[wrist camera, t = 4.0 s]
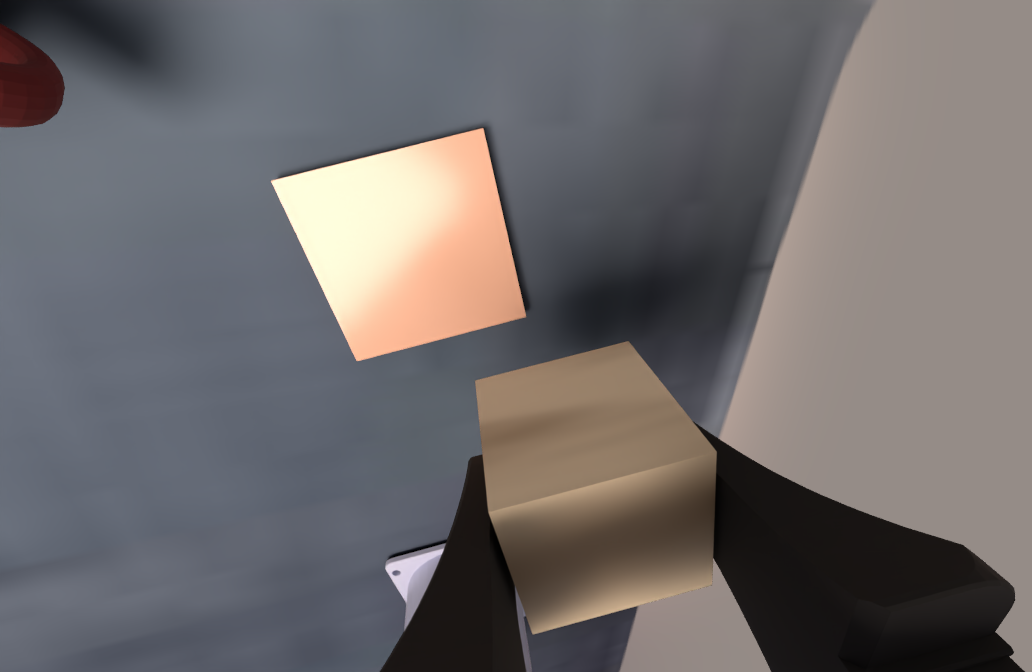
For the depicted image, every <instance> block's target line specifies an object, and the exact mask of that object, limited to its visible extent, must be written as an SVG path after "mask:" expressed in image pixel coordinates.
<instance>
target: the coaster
mask: <svg viewBox="0 0 1032 672" xmlns="http://www.w3.org/2000/svg"><path fill="white" fill-rule="evenodd" d="M271 182H272V184H273V186H274V188H275V190H276V192H277V194H278V197H279V199H280V201H281V203H282V205H283V207H284V209H285V211H286V213H287V215H288V218H289V220H290V222H291V224H292V226H293V228H294V230H295V232H296V234H297V236H298V239H299V241H300V243H301V245H302V247H303V249H304V251H305V253H306V255H307V257H308V260H309V262H310V264H311V266H312V268H313V270H314V272H315V274H316V276H317V278H318V280H319V283H320V285H321V287H322V289H323V291H324V293H325V295H326V297H327V299H328V301H329V304H330V306H331V308H332V310H333V312H334V314H335V316H336V318H337V320H338V322H339V325H340V327H341V329H342V331H343V333H344V335H345V337H346V339H347V341H348V343H349V346H350V348H351V350H352V352H353V354H354V356H355V358H356V360H357V361H360V360H364V359H367V358H371V357H375V356H379V355H383V354H387V353H390V352H394V351H398V350H402V349H406V348H409V347H413V346H417V345H421V344H425V343H429V342H432V341H436V340H440V339H444V338H448V337H451V336H455V335H459V334H463V333H467V332H470V331H474V330H478V329H482V328H486V327H490V326H493V325H497V324H501V323H505V322H509V321H512V320H516V319H520V318H524V317H526V314H525V309H524V305H523V300H522V296H521V292H520V287H519V283H518V279H517V274H516V270H515V265H514V261H513V257H512V252H511V248H510V243H509V239H508V235H507V230H506V226H505V221H504V217H503V213H502V208H501V204H500V200H499V195H498V191H497V186H496V182H495V178H494V173H493V169H492V164H491V160H490V156H489V151H488V147H487V143H486V138H485V134H484V129H483V128H479V129H475V130H471V131H467V132H463V133H459V134H455V135H451V136H447V137H443V138H439V139H435V140H431V141H427V142H423V143H419V144H415V145H411V146H407V147H403V148H399V149H395V150H391V151H387V152H383V153H379V154H375V155H371V156H367V157H363V158H359V159H355V160H351V161H347V162H342V163H338V164H334V165H330V166H326V167H322V168H318V169H314V170H310V171H306V172H302V173H298V174H294V175H290V176H286V177H282V178H278V179H275V180H272V181H271Z"/></svg>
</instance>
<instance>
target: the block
mask: <svg viewBox="0 0 1032 672" xmlns="http://www.w3.org/2000/svg"><path fill="white" fill-rule="evenodd" d="M475 384H476V393H477V403H478V413H479V423H480V433H481V443H482V453H483V463H484V473H485V483H486V493H487V503H488V513H489V515H490V518H491V521H492V524H493V526H494V529H495V532H496V535H497V537H498V540H499V543H500V546H501V548H502V551H503V554H504V557H505V559H506V562H507V565H508V568H509V570H510V573H511V576H512V579H513V581H514V584H515V587H516V590H517V592H518V595H519V598H520V601H521V603H522V606H523V609H524V612H525V614H526V617H527V620H528V623H529V625H530V628H531V631H532V634H537V633H540V632H544V631H548V630H551V629H555V628H559V627H562V626H566V625H569V624H573V623H577V622H580V621H584V620H588V619H591V618H595V617H599V616H602V615H606V614H610V613H613V612H617V611H620V610H624V609H628V608H631V607H635V606H639V605H642V604H646V603H649V602H653V601H657V600H660V599H664V598H668V597H671V596H675V595H679V594H682V593H686V592H689V591H693V590H697V589H701V588H704V587H708V586H712V575H713V574H712V573H713V547H714V517H715V488H716V459H717V451H716V450H715V449H714V448H713V446H712V445H711V444H710V443H709V441H708V440H707V439H706V438H705V436H704V435H703V434H702V433H701V431H700V430H699V429H698V428H697V426H696V425H695V424H694V423H693V421H692V420H691V419H690V418H689V416H688V415H687V414H686V413H685V411H684V410H683V409H682V408H681V406H680V405H679V404H678V403H677V401H676V400H675V399H674V398H673V396H672V395H671V394H670V393H669V391H668V390H667V389H666V388H665V386H664V385H663V384H662V383H661V381H660V380H659V379H658V378H657V376H656V375H655V374H654V373H653V371H652V370H651V369H650V368H649V366H648V365H647V364H646V363H645V361H644V360H643V359H642V358H641V356H640V355H639V354H638V353H637V351H636V350H635V349H634V347H633V346H632V345H631V344H630V342H629V341H627V342H623V343H619V344H615V345H611V346H607V347H603V348H600V349H596V350H592V351H588V352H584V353H580V354H576V355H572V356H568V357H565V358H561V359H557V360H553V361H549V362H545V363H541V364H537V365H534V366H530V367H526V368H522V369H518V370H514V371H510V372H506V373H502V374H499V375H495V376H491V377H487V378H483V379H479V380H475Z"/></svg>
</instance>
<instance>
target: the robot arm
mask: <svg viewBox="0 0 1032 672" xmlns="http://www.w3.org/2000/svg"><path fill="white" fill-rule="evenodd" d="M693 423H694V424H695V425H696V426H697V428H698V429H699V430H700V431H701V433H702V434H703V435H704V436H705V438H706V439H707V440H708V441H709V443H710V444H711V445H712V446H713V448H714V449H715V450H716V451H717V459H716V488H715V517H714V547H713V558H714V560H715V562H716V563H717V565H718V567H719V569H720V570H721V572H722V574H723V576H724V578H725V580H726V582H727V584H728V586H729V588H730V589H731V591H732V593H733V595H734V597H735V599H736V601H737V603H738V605H739V606H740V609H741V611H742V612H743V615H744V617H745V618H746V621H747V622H748V625H749V626H750V629H751V631H752V633H753V635H754V637H755V639H756V641H757V643H758V645H759V647H760V649H761V651H762V653H763V655H764V657H765V659H766V661H767V663H768V666H769V668H770V670H771V672H1025V671H1023V670H1022V669H1021V668H1020V667H1019V666H1018V665H1017V664H1016V663H1015V662H1014V661H1013V660H1012V659H1011V658H1010V657H1009V656H1011V655H1012V654H1013V653H1014V651H1013V649H1012V648H1011V646H1010V645H1009V644H1007V643H1006V642H1005V641H1004V640H1003V639H1002V638H1001V637H1000V636H999V635H998V634H997V633H996V632H995V631H996V630H997V628H998V627H999V625H1000V624H1001V622H1002V621H1003V619H1004V618H1005V617H1006V615H1007V614H1008V612H1009V611H1010V609H1011V607H1012V605H1013V603H1014V601H1015V591H1014V588H1013V586H1012V585H1011V584H1010V583H1009V582H1008V581H1006V580H1005V579H1004V578H1003V577H1001V576H1000V575H999V574H998V573H997V572H996V571H995V570H993V569H992V568H991V567H990V566H988V565H987V564H986V563H985V562H984V561H983V560H981V559H980V558H979V557H978V556H976V555H975V554H974V553H973V552H971V551H970V550H969V549H967V548H966V547H965V546H963V545H961V544H958V543H954V542H951V541H948V540H945V539H942V538H938V537H935V536H932V535H929V534H925V533H922V532H919V531H916V530H912V529H909V528H906V527H903V526H900V525H897V524H894V523H892V522H889V521H886V520H883V519H880V518H877V517H875V516H872V515H869V514H867V513H864V512H862V511H859V510H856V509H854V508H851V507H849V506H846V505H844V504H841V503H839V502H837V501H834V500H832V499H830V498H827V497H825V496H822V495H820V494H818V493H816V492H814V491H811V490H809V489H807V488H805V487H803V486H801V485H799V484H797V483H795V482H792V481H791V480H789V479H787V478H784V477H782V476H781V475H779V474H777V473H775V472H773V471H771V470H769V469H767V468H766V467H764V466H762V465H760V464H759V463H757V462H755V461H754V460H752V459H750V458H748V457H747V456H745V455H743V454H742V453H740V452H738V451H737V450H735V449H734V448H732V447H731V446H729V445H727V444H726V443H724V442H723V441H721V440H720V439H718V438H717V437H715V436H714V435H712V434H711V433H709V432H708V431H706V430H705V429H703V428H702V427H700V426H699V425H697V424H696V423H695V422H693ZM385 568H386V571H387V572H388V574H389V576H390V577H391V579H392V581H393V582H394V584H395V585H396V587H397V589H398V590H399V592H400V594H401V595H402V597H403V598H404V600H405V602H406V615H405V627H404V632H403V634H402V636H401V638H400V639H399V641H398V643H397V644H396V646H395V648H394V649H393V651H392V653H391V655H390V656H389V658H388V660H387V661H386V663H385V664H384V666H383V668H382V669H381V671H380V672H532V667H531V661H530V654H529V648H528V641H527V635H526V628H525V622H524V616H526V614H525V612H524V609H523V606H522V603H521V601H520V598H519V595H518V592H517V590H516V587H515V584H514V581H513V579H512V576H511V573H510V570H509V568H508V565H507V562H506V559H505V557H504V554H503V551H502V548H501V546H500V543H499V540H498V537H497V535H496V532H495V529H494V526H493V524H492V521H491V518H490V515H489V513H488V503H487V493H486V483H485V473H484V463H483V454H482V455H478V456H475V457H471V458H470V460H469V462H468V469H467V474H466V479H465V483H464V487H463V491H462V495H461V499H460V502H459V506H458V509H457V512H456V516H455V519H454V522H453V525H452V528H451V531H450V534H449V536H448V539H447V542H446V543H445V544H441V545H437V546H434V547H430V548H426V549H423V550H419V551H416V552H412V553H408V554H405V555H401V556H397V557H394V558H391V559H389V560H388V561H387V562H386V567H385Z"/></svg>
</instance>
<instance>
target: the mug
mask: <svg viewBox="0 0 1032 672" xmlns="http://www.w3.org/2000/svg"><path fill="white" fill-rule="evenodd" d="M64 89H65V87H64V81H63V77H62V75H61V73H60V71H59V69H58V68H57V66H56V65H55V63H54V62H53V61H52V60H51V58H50V57H49V56H48V55H46V54H45V53H44V52H43V51H42V50H41V49H39V48H38V47H36V46H35V45H34V44H32V43H31V42H30V41H28V40H26V39H25V38H23V37H22V36H20V35H19V34H17V33H15V32H14V31H12V30H10V29H9V28H7V27H6V26H4V25H2V24H1V23H0V127H27V126H34V125H38V124H43V123H45V122H46V121H48V120H50V119H51V118H52V117H53V116H55V115H56V114H57V113H58V111H59V109H60V107H61V105H62V101H63V95H64Z"/></svg>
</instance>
